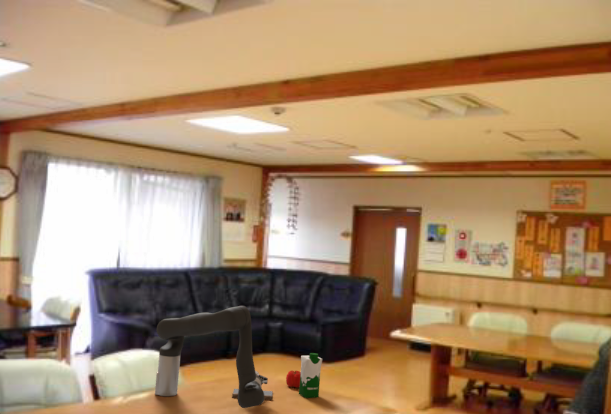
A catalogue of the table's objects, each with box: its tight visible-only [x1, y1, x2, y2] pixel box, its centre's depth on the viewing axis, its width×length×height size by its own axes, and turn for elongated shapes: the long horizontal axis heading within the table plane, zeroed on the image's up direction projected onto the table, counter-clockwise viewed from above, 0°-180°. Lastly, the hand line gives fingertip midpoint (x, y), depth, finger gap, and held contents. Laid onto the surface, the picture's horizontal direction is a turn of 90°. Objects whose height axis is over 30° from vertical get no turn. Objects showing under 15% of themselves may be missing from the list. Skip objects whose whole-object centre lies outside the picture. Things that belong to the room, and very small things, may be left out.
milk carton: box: [298, 352, 323, 399], centre depth 283 cm, size 9×9×20 cm
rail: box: [231, 392, 273, 401], centre depth 271 cm, size 18×2×2 cm, turn 93°
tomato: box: [285, 370, 301, 389], centre depth 297 cm, size 9×9×8 cm
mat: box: [232, 388, 273, 397], centre depth 278 cm, size 18×10×1 cm, turn 93°
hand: (254, 374), depth 272 cm, fingers closed
